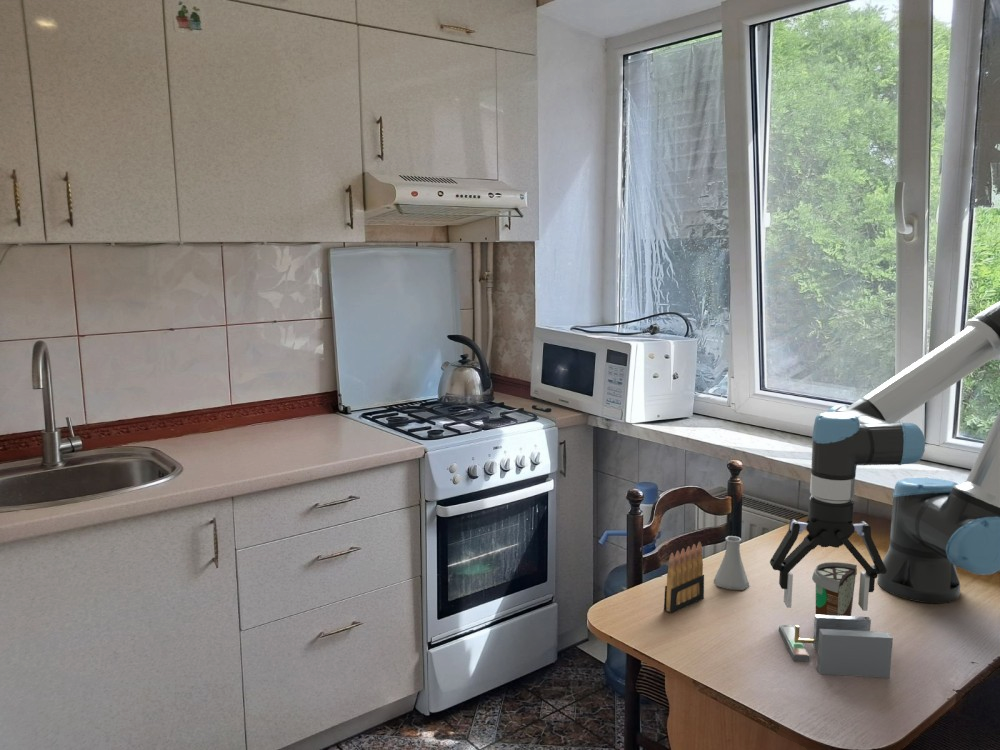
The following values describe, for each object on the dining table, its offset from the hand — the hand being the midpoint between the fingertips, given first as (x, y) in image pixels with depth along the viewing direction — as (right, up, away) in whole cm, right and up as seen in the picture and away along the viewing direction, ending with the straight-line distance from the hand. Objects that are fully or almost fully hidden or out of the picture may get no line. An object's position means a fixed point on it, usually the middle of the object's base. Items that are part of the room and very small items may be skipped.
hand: (824, 606), depth 150 cm
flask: (-12, -1, +18) cm, 22 cm away
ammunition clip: (-24, -2, +9) cm, 26 cm away
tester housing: (-3, -5, -10) cm, 12 cm away
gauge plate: (-3, -5, -10) cm, 11 cm away
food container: (+1, -3, +2) cm, 4 cm away
